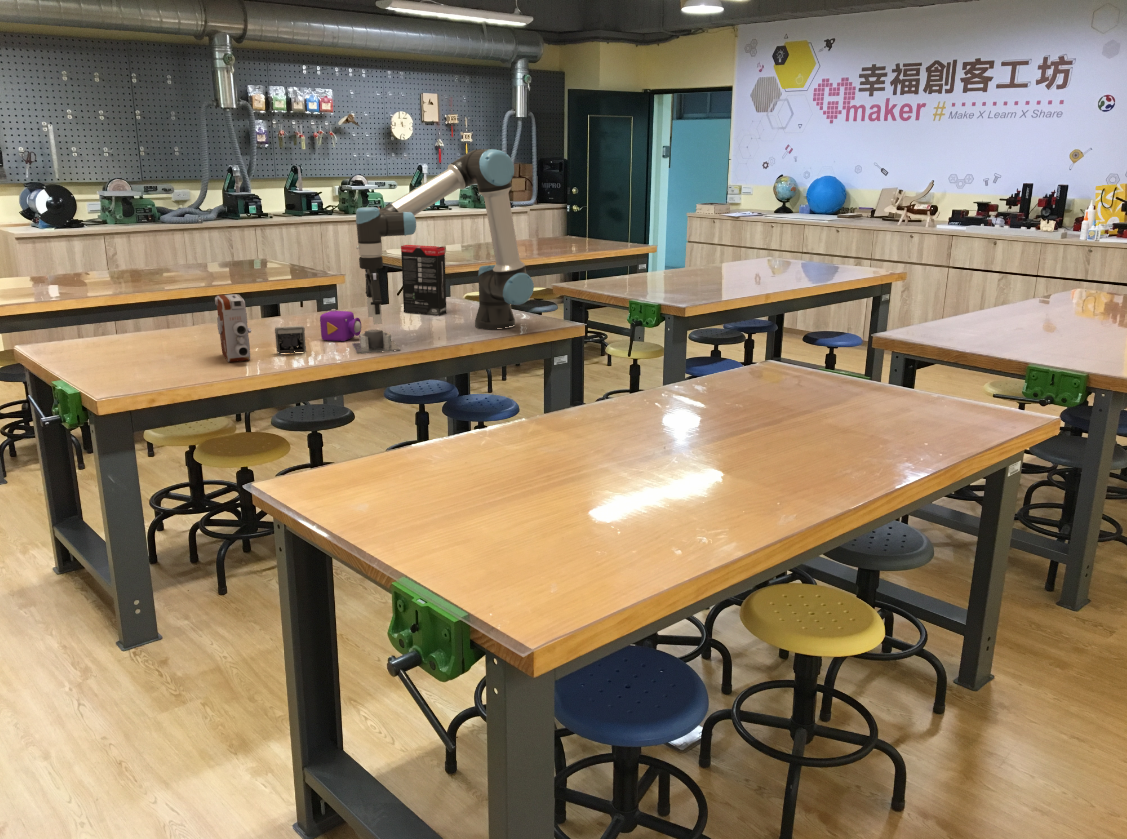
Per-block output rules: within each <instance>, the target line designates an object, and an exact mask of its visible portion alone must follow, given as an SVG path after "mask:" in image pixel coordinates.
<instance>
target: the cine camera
mask: <svg viewBox="0 0 1127 839" xmlns="http://www.w3.org/2000/svg"><path fill="white" fill-rule="evenodd" d="M214 303H215V305H216V311H217V318H216V320H217V323H216V324H217V332H218V335H219V337H220V347H221V352H222V356H223V357H224V358H225V359H226V361H227V362H228V363H234V362H235V363H236V362H245V361H250V360H251V347H250V346H251V345H250V337H249V333H250V334H251V333H252V329H251V327H248V316H247V315H248V312H247V308H246V301H245V300H244V298H243V297H242V296H241V295H240V294H236V293H235V294H233V293H232V294H218V295H216V296H215V297H214Z"/></svg>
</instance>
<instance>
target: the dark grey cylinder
mask: <svg viewBox="0 0 1127 839" xmlns="http://www.w3.org/2000/svg"><path fill="white" fill-rule="evenodd" d="M383 332H384V331H383V329H382V330H381V329H368V330H365V331H364V333H365V336H367V337H368V345H369V348H380V347H383V346H384V341H383Z"/></svg>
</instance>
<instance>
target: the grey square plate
mask: <svg viewBox="0 0 1127 839" xmlns="http://www.w3.org/2000/svg"><path fill="white" fill-rule="evenodd" d="M358 337H359V342H356V343H355V342H353V343H352V344H351V345H352V347H353V349H354V351H355V350H356V351H355V352H356V354H357V353H361V354H371V352H376V353H383V352H382V351H391V352H395V351H394V350H400V351H401V348H400V347H399V346H398V344H397V343H396V342H395V341H394V340H392V333H391V332H388V331H383V341H384V346H383V347H380V348H369V345H368V337H367V336H365V332H362V333H360V334H359V336H358ZM369 352H370V353H369Z"/></svg>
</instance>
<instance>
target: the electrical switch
mask: <svg viewBox="0 0 1127 839" xmlns="http://www.w3.org/2000/svg"><path fill="white" fill-rule="evenodd" d="M305 328H306V327H305V326H304V325H288V326H287V325H285V326H276V327H275V328H274V335H275V336H274V337H275V344H276V346H275V347H276V352H277V353H278V352H279V353H278V354H279V355H280V353H295V352H304V351H305V352H306V351H307V345H306V335H305V334H306V333H305V330H306V329H305ZM294 351H295V352H294ZM305 352H304V353H305Z"/></svg>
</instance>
